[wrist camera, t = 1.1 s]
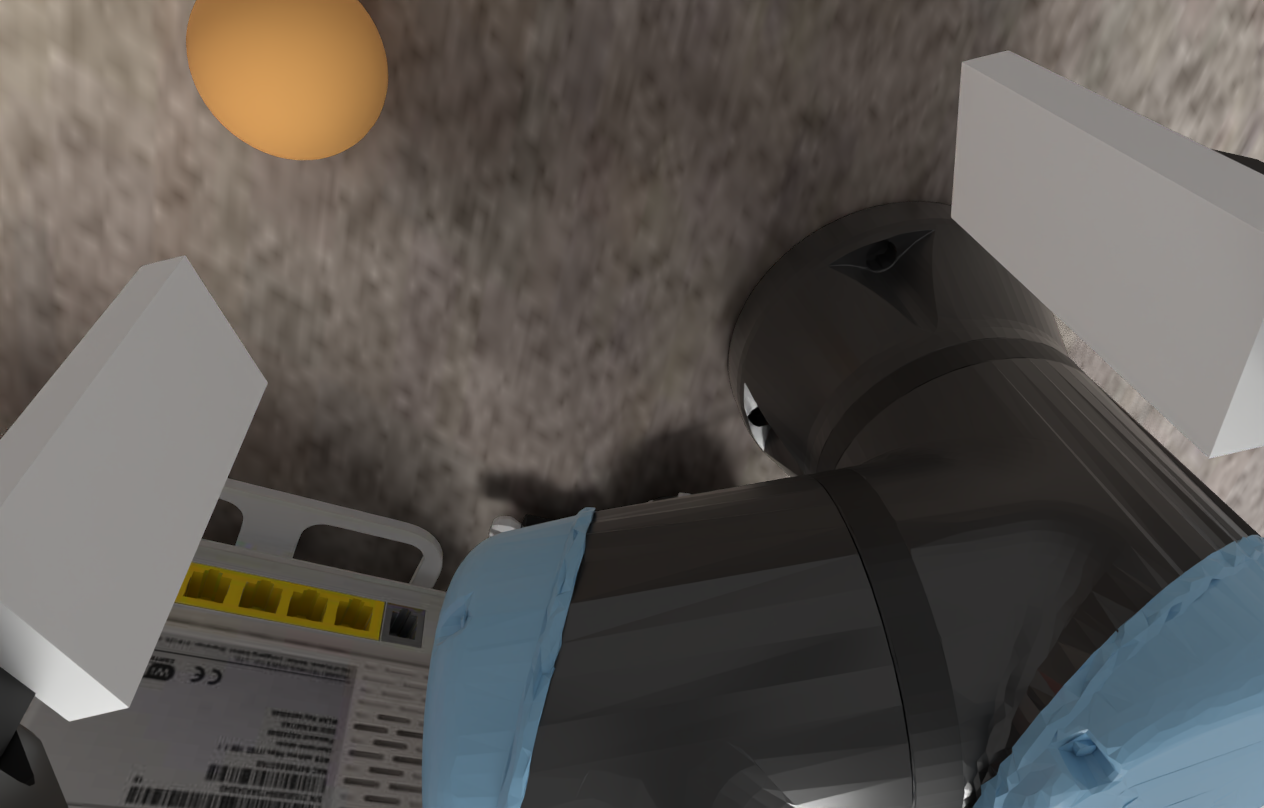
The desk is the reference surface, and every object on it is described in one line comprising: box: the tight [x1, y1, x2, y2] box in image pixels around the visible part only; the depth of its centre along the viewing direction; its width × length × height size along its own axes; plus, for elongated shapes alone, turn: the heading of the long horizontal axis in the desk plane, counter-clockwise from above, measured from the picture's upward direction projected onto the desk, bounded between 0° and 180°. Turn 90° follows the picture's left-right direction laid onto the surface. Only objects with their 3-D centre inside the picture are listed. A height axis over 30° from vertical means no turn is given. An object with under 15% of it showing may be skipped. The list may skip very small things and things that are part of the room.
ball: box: [186, 0, 388, 160], centre depth 25 cm, size 6×6×6 cm
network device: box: [20, 478, 447, 808], centre depth 34 cm, size 26×9×20 cm, turn 62°
